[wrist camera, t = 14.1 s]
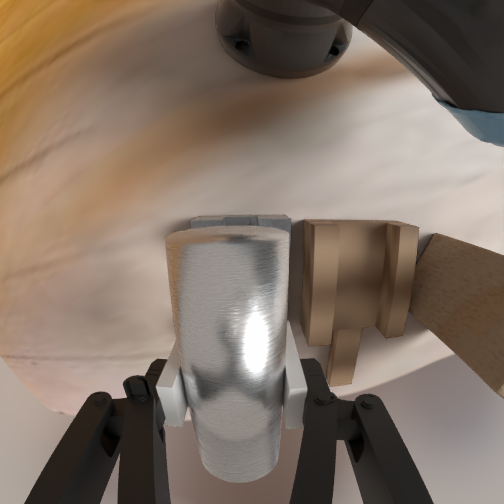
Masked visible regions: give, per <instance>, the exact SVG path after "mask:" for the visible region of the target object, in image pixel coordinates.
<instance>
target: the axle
mask: <svg viewBox="0 0 504 504" xmlns="http://www.w3.org/2000/svg"><path fill="white" fill-rule="evenodd" d="M165 243H166V256H167V267H168V277H169V287H170V296H171V304H172V312H173V319H174V327H175V334H176V340H177V347H178V353H179V359H180V365H181V370H182V376H183V381H184V386H185V391H186V396H187V401H188V406H189V410H190V415H191V419H192V424H193V428H194V432H195V436H196V440H197V444H198V448H199V452H200V456H201V459H202V463H203V465H204V466H205V468H206V469H207V470H208V471H209V472H210V473H211V474H212V475H214V476H215V477H217V478H219V479H222V480H225V481H229V482H236V483H237V482H238V483H241V482H242V483H243V482H250V481H254V480H257V479H259V478H261V477H263V476H265V475H266V474H268V473H269V472H270V471H271V470H272V469H273V468H274V466H275V465H276V463H277V460H278V455H279V444H280V431H281V420H282V407H283V391H284V375H285V359H286V338H287V314H288V281H289V233H288V232H287V231H285V230H282V229H277V228H271V227H262V226H213V227H202V228H194V229H187V230H182V231H178V232H174V233H171V234H169V235H167V236H166V237H165Z"/></svg>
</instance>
